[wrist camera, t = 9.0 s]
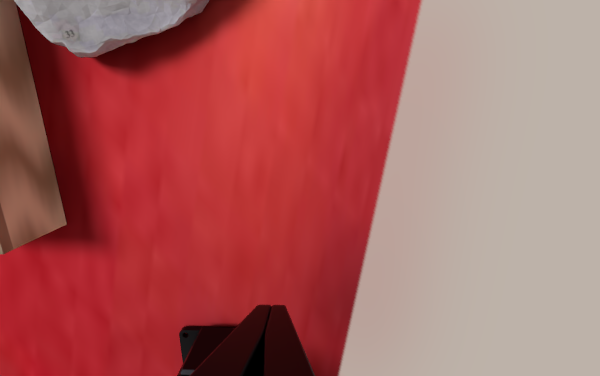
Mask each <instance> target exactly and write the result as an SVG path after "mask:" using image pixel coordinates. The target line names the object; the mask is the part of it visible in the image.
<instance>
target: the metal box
mask: <svg viewBox="0 0 600 376" xmlns="http://www.w3.org/2000/svg"><path fill="white" fill-rule="evenodd" d="M65 225H67V223H66V219H65V214H64V210H63V206H62V201H61V197H60V193H59V188H58V184H57V180H56V175H55V171H54V167H53V162H52V158H51V154H50V149H49V145H48V141H47V136H46V132H45V128H44V123H43V119H42V115H41V110H40V106H39V102H38V97H37V93H36V89H35V84H34V80H33V76H32V71H31V67H30V63H29V58H28V54H27V50H26V45H25V41H24V37H23V32H22V28H21V24H20V19H19V15H18V11H17V6H16V2H15V1H14V0H0V254H5V253H7V252H9V251H11V250H13V249H15V248H18V247H20V246H22V245H24V244H26V243H28V242H30V241H32V240H35V239H37V238H39V237H41V236H43V235H45V234H47V233H50V232H52V231H54V230H56V229H58V228H60V227H62V226H65Z"/></svg>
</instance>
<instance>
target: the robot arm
mask: <svg viewBox="0 0 600 376" xmlns="http://www.w3.org/2000/svg"><path fill="white" fill-rule="evenodd" d="M186 333H188V334H186ZM179 336H180V344H181V351H182V358H183V365H182V367H181V369H180V371H179V373H178V375H177V376H315V375H314V373H313V370H312V368H311V365H310V363H309V361H308V358H307V356H306V354H305V351H304V349H303V347H302V344H301V342H300V339H299V337H298V335H297V332H296V330H295V328H294V325H293V323H292V321H291V318H290V316H289V313H288V311H287V309H286V307H285V306H284V305H273V306H272V307H271V305H258V306H256V307H255V309H254V310H253V311H252V312H251V313H250V314H249V315H248V316H247V317H246V318H245V319H244V320H243V321H242V322H241V323H240V324H239V325H238V326H237V327H192V326H186V327H183V328H182V330H181V331H180V333H179Z"/></svg>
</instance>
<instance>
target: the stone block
mask: <svg viewBox="0 0 600 376" xmlns="http://www.w3.org/2000/svg"><path fill="white" fill-rule="evenodd" d="M14 1H15V2H16V4H17V5H18V6H19V7H20V9H21V10H22V11H23V12H24V14H25V15H26V16H27V17H28V18H29V19H30V21H31V22H32V23H33V25H34V26H35V28H36V29H37V30H38V31H39V32H41V33H42V35H43V36H44V37H45V38H47V39H48V40H49V41H50V42H52V43H54V44H56V45H60V46H64V47H67V49H68V50H69V51H70V52H72V53H73V54H75V55H76V56H78V57H97V56H98V55H101V54H104V53H106V52H108V51H112V50H113V49H115V48H118V47H120V46H123V45H124V44H126V43H133V42H136V41H137V40H139V39H141V38H143V37H146V36H150V35H155V34H159V33H161V32H163V31H165V30H167V29H170V28H173V27H175V26H178V25H179V24H180V23H181V22H183V21H184V20H185V19H186V18H188V17H192V16H194V15H197V14H198V13H201V12H202V11H203V9H204V8H205V6H206V5H207V3H208V2H209V0H14Z"/></svg>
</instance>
